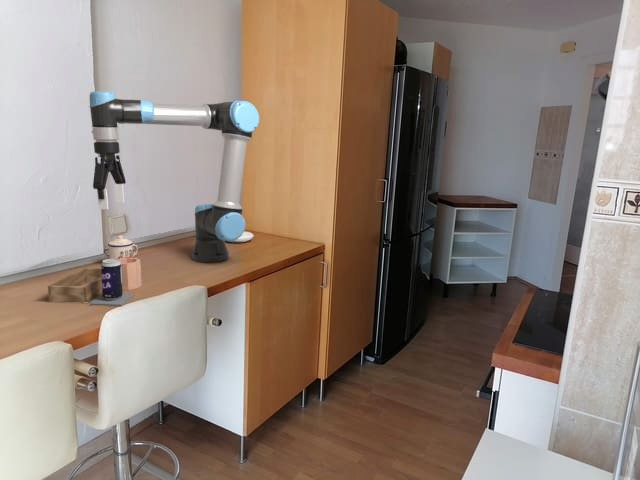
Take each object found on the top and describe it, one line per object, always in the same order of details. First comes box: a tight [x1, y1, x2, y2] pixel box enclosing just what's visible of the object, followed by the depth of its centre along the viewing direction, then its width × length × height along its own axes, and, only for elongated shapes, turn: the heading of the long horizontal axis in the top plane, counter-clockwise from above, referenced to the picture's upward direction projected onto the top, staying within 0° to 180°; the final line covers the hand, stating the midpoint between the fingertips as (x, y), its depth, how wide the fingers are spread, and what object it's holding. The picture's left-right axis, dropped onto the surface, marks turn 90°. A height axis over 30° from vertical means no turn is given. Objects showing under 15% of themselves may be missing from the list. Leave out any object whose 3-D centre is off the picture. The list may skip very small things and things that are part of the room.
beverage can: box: [100, 258, 123, 300], centre depth 143 cm, size 6×6×12 cm
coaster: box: [87, 292, 136, 307], centre depth 144 cm, size 10×10×1 cm
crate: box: [47, 267, 102, 303], centre depth 151 cm, size 12×21×5 cm, turn 179°
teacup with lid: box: [107, 235, 139, 259], centre depth 184 cm, size 12×9×12 cm
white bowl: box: [228, 230, 254, 243], centre depth 232 cm, size 16×16×7 cm
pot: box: [119, 257, 142, 291], centre depth 157 cm, size 8×8×9 cm
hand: (112, 205), depth 156 cm, fingers open, 13 cm apart
